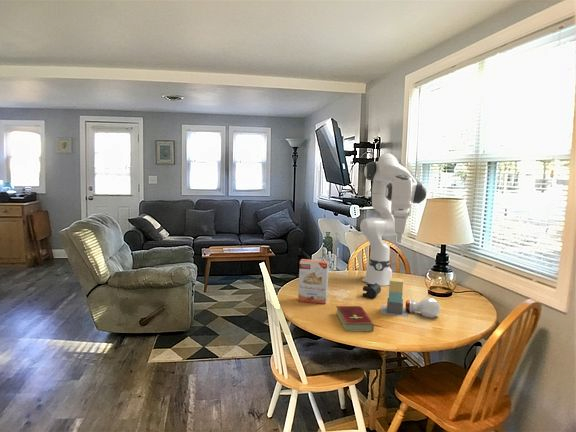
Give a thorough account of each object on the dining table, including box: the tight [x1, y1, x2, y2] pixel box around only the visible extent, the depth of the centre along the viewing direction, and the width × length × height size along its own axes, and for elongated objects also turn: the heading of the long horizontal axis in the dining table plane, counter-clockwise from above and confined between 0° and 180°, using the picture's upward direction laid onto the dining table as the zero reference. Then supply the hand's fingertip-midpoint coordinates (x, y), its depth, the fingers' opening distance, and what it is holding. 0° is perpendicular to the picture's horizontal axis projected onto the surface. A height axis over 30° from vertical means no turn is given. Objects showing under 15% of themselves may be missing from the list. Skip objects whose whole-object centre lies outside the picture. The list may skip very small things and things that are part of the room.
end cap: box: [362, 283, 382, 300], centre depth 215 cm, size 10×7×7 cm
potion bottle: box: [404, 296, 441, 319], centre depth 189 cm, size 9×10×15 cm
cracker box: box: [297, 258, 330, 305], centre depth 205 cm, size 14×6×21 cm, turn 78°
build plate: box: [380, 305, 409, 318], centre depth 193 cm, size 12×12×1 cm
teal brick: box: [387, 290, 403, 303], centre depth 192 cm, size 6×6×5 cm
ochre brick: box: [388, 277, 404, 294], centre depth 191 cm, size 6×6×5 cm
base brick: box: [386, 297, 404, 314], centre depth 193 cm, size 7×7×5 cm
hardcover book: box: [336, 305, 375, 332], centre depth 180 cm, size 12×21×4 cm, turn 4°
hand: (398, 240), depth 189 cm, fingers open, 8 cm apart
